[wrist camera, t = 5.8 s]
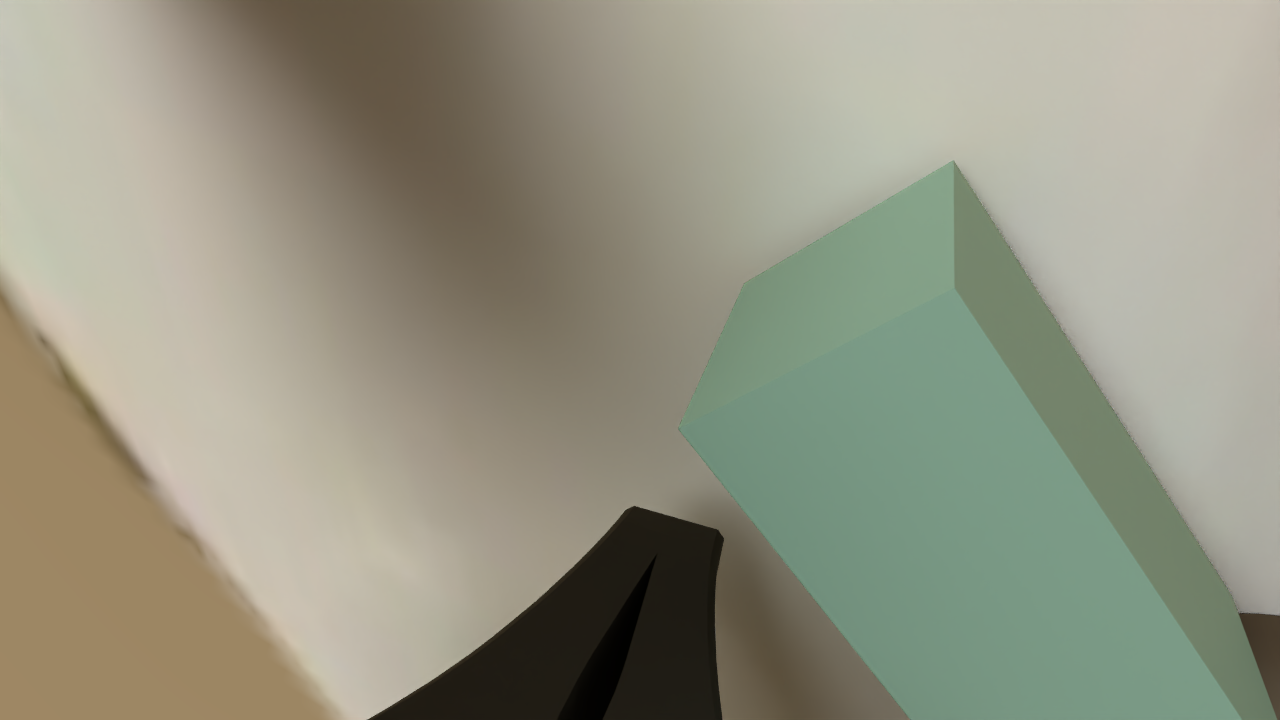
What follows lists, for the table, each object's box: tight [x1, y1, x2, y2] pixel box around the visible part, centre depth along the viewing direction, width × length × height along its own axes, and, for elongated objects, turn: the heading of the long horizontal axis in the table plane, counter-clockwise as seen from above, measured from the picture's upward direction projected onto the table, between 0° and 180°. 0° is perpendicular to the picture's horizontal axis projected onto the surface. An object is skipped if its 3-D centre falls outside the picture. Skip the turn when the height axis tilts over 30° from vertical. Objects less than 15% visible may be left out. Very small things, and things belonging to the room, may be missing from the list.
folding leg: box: [678, 160, 1277, 720], centre depth 11 cm, size 7×3×4 cm, turn 39°
